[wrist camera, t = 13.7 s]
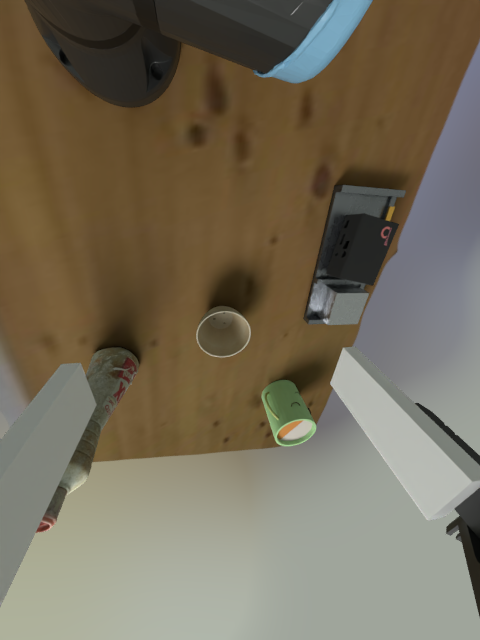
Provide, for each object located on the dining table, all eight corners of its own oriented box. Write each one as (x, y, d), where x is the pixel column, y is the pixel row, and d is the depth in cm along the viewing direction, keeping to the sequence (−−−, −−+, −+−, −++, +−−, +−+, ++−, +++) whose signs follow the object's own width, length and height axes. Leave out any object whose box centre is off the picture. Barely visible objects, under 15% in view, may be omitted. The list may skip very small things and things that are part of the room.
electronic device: (324, 273, 43) (339, 278, 38) (344, 215, 39) (363, 213, 35) (355, 280, 45) (373, 285, 40) (377, 225, 41) (400, 224, 37)
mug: (304, 387, 62) (325, 425, 51) (279, 409, 65) (294, 450, 54) (273, 370, 56) (290, 409, 46) (247, 395, 59) (258, 437, 49)
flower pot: (250, 301, 45) (258, 318, 39) (235, 340, 50) (240, 360, 43) (203, 289, 42) (204, 305, 36) (191, 332, 46) (190, 352, 40)
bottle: (105, 336, 44) (-6, 508, 20) (147, 356, 48) (98, 518, 24) (86, 365, 46) (-32, 548, 22) (128, 381, 50) (65, 551, 26)
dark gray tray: (334, 185, 37) (354, 184, 32) (397, 191, 39) (424, 190, 35) (303, 318, 50) (314, 331, 45) (352, 317, 52) (367, 329, 47)
